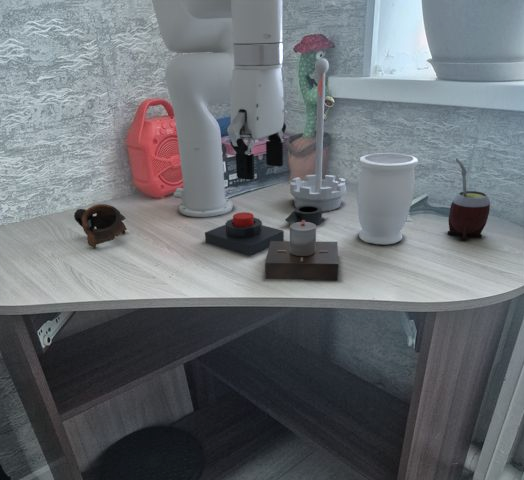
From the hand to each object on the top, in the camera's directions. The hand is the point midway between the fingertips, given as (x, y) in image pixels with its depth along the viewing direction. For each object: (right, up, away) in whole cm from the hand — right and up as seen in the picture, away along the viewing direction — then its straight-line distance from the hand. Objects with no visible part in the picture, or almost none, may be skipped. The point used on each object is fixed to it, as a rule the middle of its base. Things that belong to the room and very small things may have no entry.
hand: (260, 171), depth 84 cm
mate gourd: (+40, -9, +11) cm, 42 cm away
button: (-3, -7, +10) cm, 12 cm away
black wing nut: (+10, -4, +20) cm, 23 cm away
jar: (+24, -9, +11) cm, 28 cm away
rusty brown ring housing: (-33, -8, +16) cm, 37 cm away
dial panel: (+7, -17, 0) cm, 18 cm away
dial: (+7, -14, -1) cm, 16 cm away
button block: (-3, -10, +12) cm, 16 cm away
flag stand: (+13, +4, +31) cm, 34 cm away
